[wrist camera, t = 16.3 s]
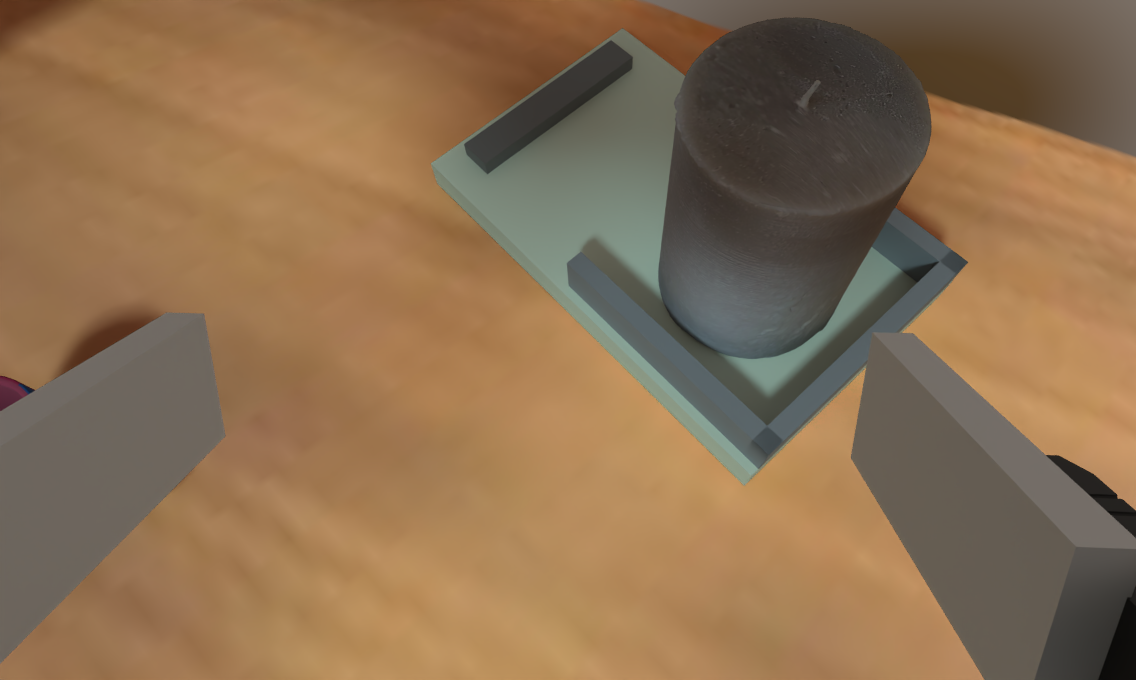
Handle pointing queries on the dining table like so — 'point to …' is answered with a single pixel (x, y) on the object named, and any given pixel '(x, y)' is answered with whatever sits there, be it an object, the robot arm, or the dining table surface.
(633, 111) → the deck plate
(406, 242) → the dining table surface
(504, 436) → the dining table surface
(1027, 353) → the dining table surface
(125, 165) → the dining table surface
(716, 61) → the pillar candle
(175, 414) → the robot arm
